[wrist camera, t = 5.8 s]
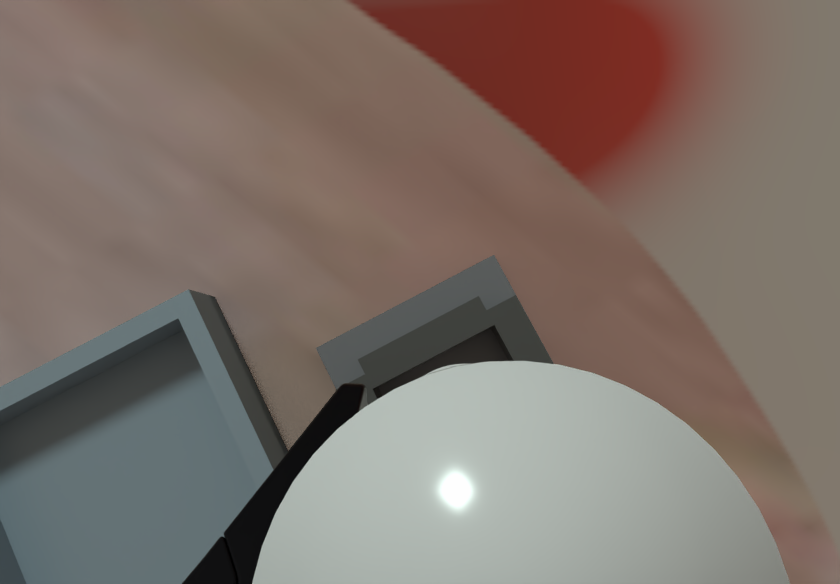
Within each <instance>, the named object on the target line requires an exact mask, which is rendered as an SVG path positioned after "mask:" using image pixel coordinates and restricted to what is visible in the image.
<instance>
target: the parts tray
mask: <svg viewBox="0 0 840 584" xmlns="http://www.w3.org/2000/svg"><path fill="white" fill-rule="evenodd" d="M287 452H288V450H287V448H286V446H285V444H284V442H283V440H282V438H281V436H280V434H279V431H278V429H277V427H276V425H275V423H274V421H273V419H272V417H271V415H270V413H269V410H268V408H267V406H266V404H265V402H264V400H263V398H262V396H261V394H260V392H259V389H258V387H257V385H256V383H255V381H254V379H253V377H252V375H251V373H250V371H249V368H248V366H247V364H246V362H245V360H244V358H243V356H242V354H241V352H240V349H239V347H238V345H237V343H236V341H235V339H234V337H233V335H232V333H231V331H230V328H229V326H228V324H227V322H226V320H225V318H224V316H223V314H222V312H221V310H220V307H219V305H218V303H217V301H216V299H215V297H213V296H210V295H206V294H203V293H199V292H196V291H192V290H189V289H188V290H187V291H185V292H183V293H181V294H179V295H177V296H175V297H173V298H171V299H169V300H167V301H165V302H163V303H162V304H160V305H158V306H156V307H154V308H152V309H150V310H148V311H146V312H144V313H142V314H140V315H138V316H136V317H135V318H133V319H131V320H129V321H127V322H125V323H123V324H121V325H119V326H117V327H115V328H113V329H111V330H109V331H108V332H106V333H104V334H102V335H100V336H98V337H96V338H94V339H92V340H90V341H88V342H86V343H84V344H83V345H81V346H79V347H77V348H75V349H73V350H71V351H69V352H67V353H65V354H63V355H61V356H59V357H57V358H56V359H54V360H52V361H50V362H48V363H46V364H44V365H42V366H40V367H38V368H36V369H34V370H32V371H31V372H29V373H27V374H25V375H23V376H21V377H19V378H17V379H15V380H13V381H11V382H9V383H7V384H5V385H4V386H2V387H0V584H182V583H183V582H184V580H185V579H186V578H187V577H188V576H189V574H190V573H191V572H192V571H193V570H194V568H195V567H196V566H197V565H198V564H199V562H200V561H201V560H202V559H203V558H204V557H205V555H206V554H207V553H208V551H209V550H210V549H211V548H212V546H213V545H214V544H215V543H216V541H217V540H218V539H219V538H220V537H221V536H223V537H224V532H225V530H226V529H227V528H228V527H229V525H230V524H231V523H232V522H233V520H234V519H235V518H236V516H237V515H238V514H239V513H240V511H241V510H242V509H243V508H244V506H245V505H246V504H247V503H248V501H249V500H250V499H251V498H252V496H253V495H254V494H255V493H256V491H257V490H258V489H259V488H260V486H261V485H262V484H263V482H264V481H265V480H266V479H267V477H268V476H269V475H270V474H271V472H272V471H273V470H274V469H275V467H276V466H277V465H278V464H279V462H280V461H281V460H282V459H283V457H284V456H285V455H286V454H287Z"/></svg>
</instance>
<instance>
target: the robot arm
mask: <svg viewBox="0 0 840 584" xmlns="http://www.w3.org/2000/svg"><path fill="white" fill-rule="evenodd" d="M367 405H368V403H367V391H366V387H365V385H364V384H356V383H344V384H342V385H341V386H340V387H339V388H338V389H337V391H336V392H335V393H334V394H333V396H332V397H331V398H330V399H329V401H328V402H327V403H326V404H325V406H324V407H323V408H322V409H321V411H320V412H319V413H318V415H317V416H316V417H315V418H314V420H313V421H312V422H311V423H310V425H309V426H308V427H307V428H306V430H305V431H304V432H303V433H302V435H301V436H300V437H299V438H298V440H297V441H296V442H295V443H294V445H293V446H292V447H291V449H290V450H289V451H288V452H287V454H286V455H285V456H284V457H283V459H282V460H281V461H280V462H279V464H278V465H277V466H276V467H275V469H274V470H273V471H272V472H271V474H270V475H269V476H268V477H267V479H266V480H265V481H264V482H263V484H262V485H261V486H260V488H259V489H258V490H257V491H256V493H255V494H254V495H253V496H252V498H251V499H250V500H249V501H248V503H247V504H246V505H245V506H244V508H243V509H242V510H241V511H240V513H239V514H238V515H237V516H236V518H235V519H234V520H233V522H232V523H231V524H230V525H229V527H228V528H227V529H226V530H225V532H224V537H223V536H221V537H220V538H219V539H218V540H217V541H216V543H215V544H214V545H213V546H212V548H211V549H210V550H209V551H208V553H207V554H206V555H205V557H204V558H203V559H202V560H201V561H200V562H199V564H198V565H197V566H196V567H195V568H194V570H193V571H192V572H191V573H190V574H189V576H188V577H187V578H186V579H185V580H184V582H183V583H182V584H252V582H253V578H254V574H255V570H256V567H257V563H258V559H259V555H260V552H261V548H262V545H263V543H264V540H265V538H266V535H267V533H268V530H269V528H270V525H271V523H272V520H273V518H274V515H275V513H276V511H277V509H278V508H279V506H280V504H281V502H282V500H283V499H284V497H285V495H286V493H287V491H288V490H289V488H290V486H291V484H292V483H293V481H294V480H295V478H296V477H297V476H298V474H299V473H300V472H301V470H302V469H303V468H304V466H305V465H306V463H307V462H308V461H309V459H310V458H311V457H312V455H313V454H314V453H315V452H316V451H317V450H318V449H319V448H320V447H321V446H322V445H323V444H324V443H325V441H326V440H327V439H328V438H329V437H330V436H331V435H332V434H333V433H334V432H335V431H336V430H337V429H338V428H339V427H341V426H342V425H343V424H344V423H346V422H347V421H348V420H349V419H350V418H352V417H353V416H354V415H355V414H357V413H358V412H359V411H360V410H362V409H363V408H364V407H366V406H367Z"/></svg>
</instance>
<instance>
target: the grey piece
mask: <svg viewBox="0 0 840 584" xmlns="http://www.w3.org/2000/svg"><path fill="white" fill-rule="evenodd" d="M316 349H317V351H318V353H319V355H320V357H321V359H322V361H323V363H324V365H325V367H326V369H327V371H328V373H329V375H330V377H331V379H332V381H333V383H334V385H335V387H336V391H337V389H338V388H339V387H340V386H341V385H342V384H344V383H356V384H364V385H365V387H366V391H367V403H368V405H369V404H371V403H372V402H374V401H376V400H377V399H379V398H381V397H382V396H384V395H386V394H387V393H389V392H390V391H392V390H394V389H396V388H398V387H400V386H402V385H404V384H406V383H409V382H411V381H413V380H415V379H418V378H420V377H422V376H424V375H426V374H427V373H429V372H431V371H434V370H436V369H438V368H441V367H444V366H448V365H454V364H472V363H479V362H491V361H530V362H539V363H548V364H553V362H552V360H551V358H550V356H549V354H548V353H547V351H546V349H545V347H544V345H543V344H542V342H541V340H540V338H539V336H538V334H537V333H536V331H535V329H534V327H533V325H532V324H531V322H530V320H529V318H528V316H527V314H526V313H525V311H524V309H523V307H522V305H521V303H520V302H519V300H518V298H517V296H516V294H515V293H514V291H513V289H512V287H511V285H510V283H509V282H508V280H507V278H506V276H505V274H504V273H503V271H502V269H501V267H500V265H499V263H498V262H497V260H496V258H495V256H494V255H493V256H491V257H489V258H487V259H485V260H483V261H481V262H479V263H478V264H476V265H474V266H472V267H470V268H468V269H466V270H464V271H462V272H460V273H458V274H457V275H455V276H453V277H451V278H449V279H447V280H445V281H443V282H441V283H439V284H437V285H436V286H434V287H432V288H430V289H428V290H426V291H424V292H422V293H420V294H418V295H416V296H415V297H413V298H411V299H409V300H407V301H405V302H403V303H401V304H399V305H397V306H395V307H393V308H392V309H390V310H388V311H386V312H384V313H382V314H380V315H378V316H376V317H374V318H372V319H371V320H369V321H367V322H365V323H363V324H361V325H359V326H357V327H355V328H353V329H351V330H350V331H348V332H346V333H344V334H342V335H340V336H338V337H336V338H334V339H332V340H330V341H329V342H327V343H325V344H323V345H321V346H319V347H317V348H316Z"/></svg>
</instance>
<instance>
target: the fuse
mask: <svg viewBox="0 0 840 584" xmlns="http://www.w3.org/2000/svg"><path fill="white" fill-rule="evenodd" d="M252 584H790V583H789V579H788V576H787V573H786V570H785V568H784V565H783V562H782V559H781V556H780V553H779V551H778V548H777V545H776V542H775V540H774V538H773V536H772V534H771V532H770V530H769V528H768V526H767V524H766V522H765V520H764V518H763V516H762V514H761V512H760V510H759V508H758V507H757V505H756V504H755V502H754V501H753V499H752V498H751V496H750V495H749V493H748V492H747V490H746V489H745V487H744V486H743V484H742V483H741V481H740V480H739V478H738V477H737V476H736V474H735V473H734V472H733V471H732V470H731V468H730V467H729V466H728V465H727V464H726V463H725V461H724V460H723V459H722V458H721V457H720V456H719V454H718V453H717V452H716V451H715V450H714V449H713V448H712V447H711V446H710V445H709V444H708V443H707V442H706V441H705V440H704V439H703V438H702V437H700V436H699V435H698V434H697V433H696V432H695V431H694V430H693V429H692V428H691V427H690V426H688V425H687V424H686V423H685V422H683V421H682V420H681V419H679V418H678V417H676V416H675V415H674V414H672V413H671V412H669V411H668V410H667V409H665V408H664V407H662V406H661V405H660V404H658V403H657V402H655V401H653V400H651V399H649V398H647V397H646V396H644V395H642V394H640V393H638V392H636V391H634V390H633V389H631V388H629V387H627V386H625V385H622V384H620V383H617V382H615V381H612V380H610V379H607V378H604V377H602V376H599V375H597V374H594V373H591V372H587V371H583V370H578V369H574V368H570V367H566V366H562V365H557V364H548V363H539V362H530V361H491V362H479V363H472V364H454V365H448V366H444V367H441V368H438V369H436V370H434V371H431V372H429V373H427V374H426V375H424V376H422V377H420V378H418V379H415V380H413V381H411V382H409V383H406V384H404V385H402V386H400V387H398V388H396V389H394V390H392V391H390V392H389V393H387V394H386V395H384V396H382V397H381V398H379V399H377V400H376V401H374V402H372V403H371V404H369V405H367V406H366V407H364V408H363V409H362V410H360V411H359V412H358V413H357V414H355V415H354V416H353V417H352V418H350V419H349V420H348V421H347V422H346V423H344V424H343V425H342V426H341V427H339V428H338V429H337V430H336V431H335V432H334V433H333V434H332V435H331V436H330V437H329V438H328V439H327V440H326V441H325V443H324V444H323V445H322V446H321V447H320V448H319V449H318V450H317V451H316V452H315V453H314V454H313V455H312V457H311V458H310V459H309V461H308V462H307V463H306V465H305V466H304V468H303V469H302V470H301V472H300V473H299V474H298V476H297V477H296V478H295V480H294V481H293V483H292V484H291V486H290V488H289V490H288V491H287V493H286V495H285V497H284V499H283V500H282V502H281V504H280V506H279V508H278V509H277V511H276V513H275V515H274V518H273V520H272V523H271V525H270V528H269V530H268V533H267V535H266V538H265V540H264V543H263V545H262V548H261V552H260V555H259V559H258V563H257V567H256V570H255V574H254V578H253V582H252Z"/></svg>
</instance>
